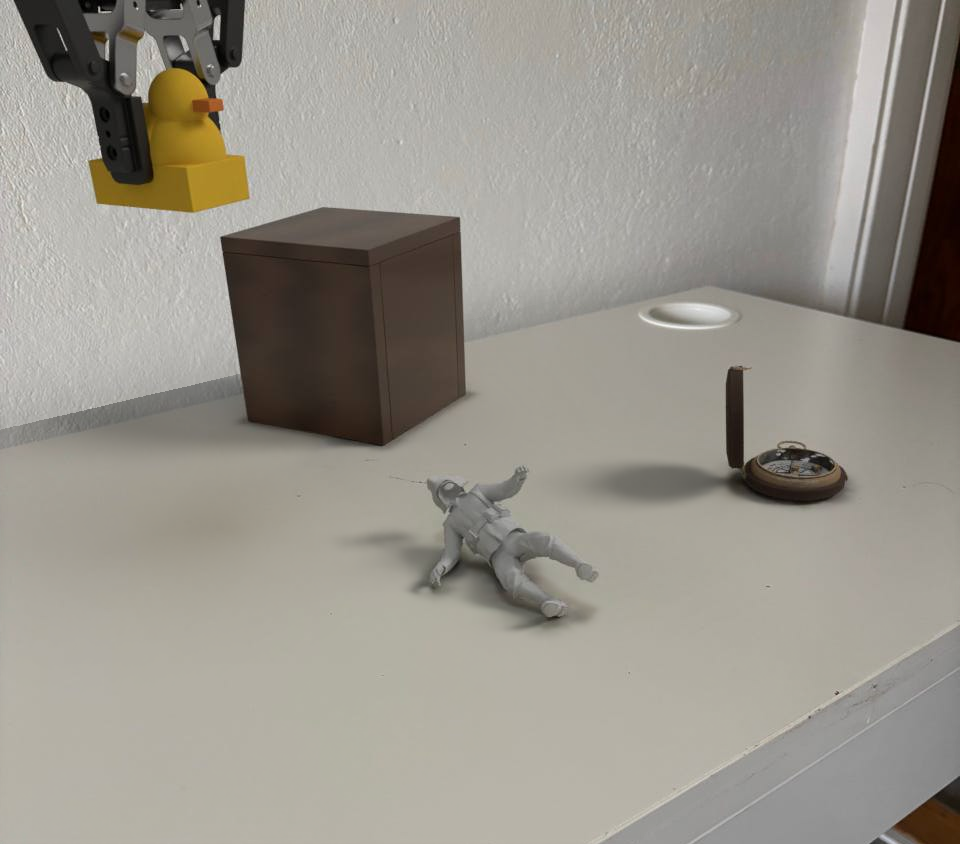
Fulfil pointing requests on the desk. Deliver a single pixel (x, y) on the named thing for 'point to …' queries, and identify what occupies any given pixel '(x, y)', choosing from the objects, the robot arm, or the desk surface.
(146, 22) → the robot arm
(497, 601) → the desk surface
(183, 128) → the rubber duck
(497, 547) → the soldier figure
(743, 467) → the compass
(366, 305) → the brown wooden box
